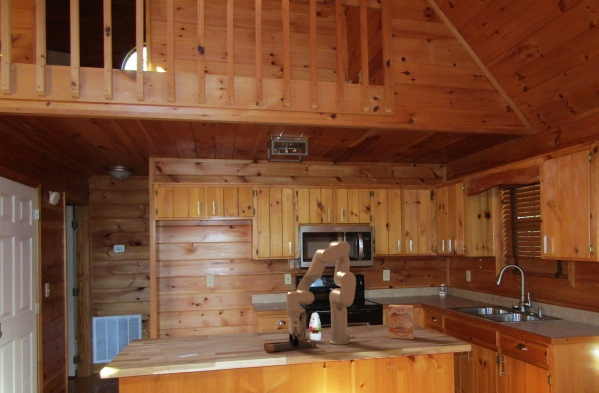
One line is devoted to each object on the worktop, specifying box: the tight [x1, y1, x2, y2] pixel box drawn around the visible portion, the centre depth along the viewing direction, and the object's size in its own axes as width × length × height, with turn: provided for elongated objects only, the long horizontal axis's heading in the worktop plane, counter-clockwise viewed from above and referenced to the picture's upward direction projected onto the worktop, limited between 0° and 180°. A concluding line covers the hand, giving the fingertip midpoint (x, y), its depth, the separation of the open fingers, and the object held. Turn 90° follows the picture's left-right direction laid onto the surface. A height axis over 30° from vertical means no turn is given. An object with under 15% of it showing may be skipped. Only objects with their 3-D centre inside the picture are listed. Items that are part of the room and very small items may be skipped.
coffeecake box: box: [387, 304, 415, 340], centre depth 280 cm, size 15×7×20 cm, turn 73°
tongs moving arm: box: [265, 339, 313, 353], centre depth 252 cm, size 27×2×4 cm, turn 112°
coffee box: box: [298, 311, 307, 341], centre depth 279 cm, size 9×6×16 cm
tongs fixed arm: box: [263, 339, 317, 351], centre depth 256 cm, size 30×4×4 cm, turn 103°
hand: (293, 344), depth 256 cm, fingers open, 9 cm apart
